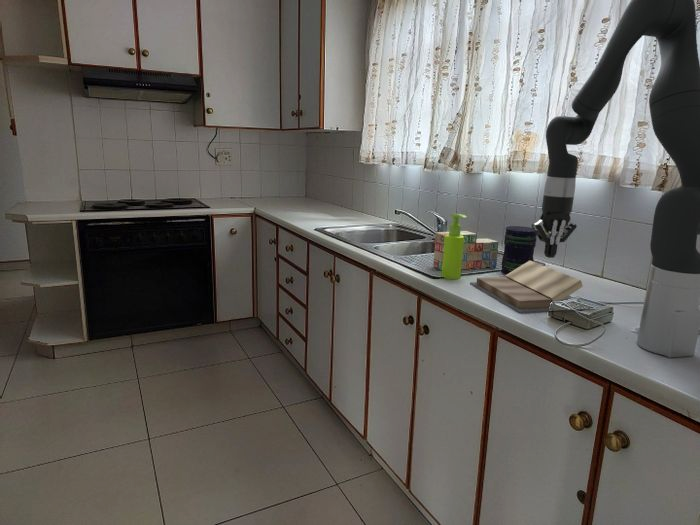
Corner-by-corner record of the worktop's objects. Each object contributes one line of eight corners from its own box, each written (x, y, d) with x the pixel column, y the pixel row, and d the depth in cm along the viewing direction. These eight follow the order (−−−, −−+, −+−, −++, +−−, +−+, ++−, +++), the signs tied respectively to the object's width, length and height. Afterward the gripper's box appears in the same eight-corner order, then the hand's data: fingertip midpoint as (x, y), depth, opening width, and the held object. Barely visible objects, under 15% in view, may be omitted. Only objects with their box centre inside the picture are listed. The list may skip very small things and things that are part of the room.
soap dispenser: (453, 281, 144) (459, 216, 139) (437, 275, 149) (442, 213, 144) (466, 278, 147) (472, 215, 142) (450, 273, 152) (456, 212, 148)
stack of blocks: (485, 263, 168) (489, 229, 165) (496, 268, 162) (500, 233, 159) (432, 267, 161) (435, 231, 158) (442, 271, 155) (445, 234, 152)
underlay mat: (594, 309, 122) (595, 307, 121) (519, 313, 116) (519, 311, 116) (534, 281, 146) (534, 279, 146) (469, 284, 141) (470, 282, 141)
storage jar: (517, 268, 162) (522, 225, 158) (538, 275, 153) (544, 230, 150) (494, 270, 158) (499, 226, 155) (514, 278, 149) (520, 231, 146)
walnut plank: (549, 306, 121) (550, 299, 120) (518, 308, 118) (519, 301, 118) (503, 283, 141) (504, 276, 141) (476, 284, 139) (477, 277, 139)
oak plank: (583, 286, 121) (580, 280, 121) (554, 304, 121) (552, 298, 120) (532, 265, 142) (529, 260, 142) (507, 281, 141) (505, 275, 141)
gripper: (545, 195, 121) (537, 261, 125) (589, 196, 124) (579, 259, 128) (528, 192, 128) (520, 254, 132) (570, 193, 131) (561, 253, 135)
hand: (549, 257), depth 130 cm, fingers closed
